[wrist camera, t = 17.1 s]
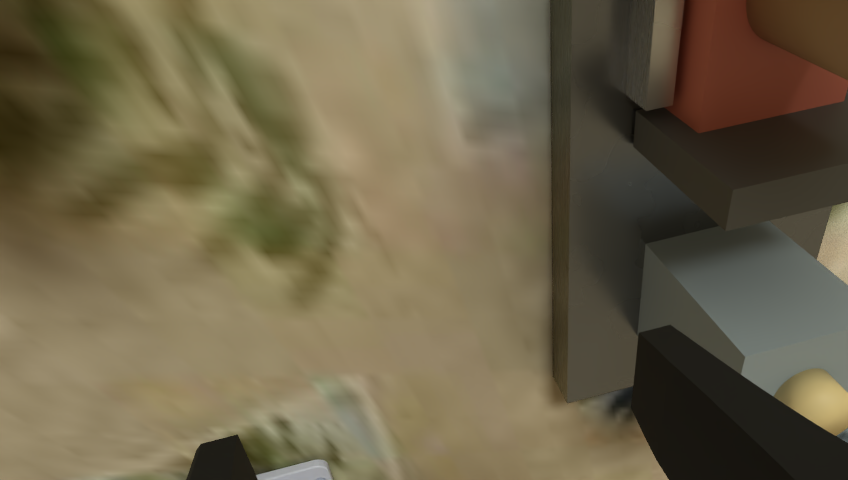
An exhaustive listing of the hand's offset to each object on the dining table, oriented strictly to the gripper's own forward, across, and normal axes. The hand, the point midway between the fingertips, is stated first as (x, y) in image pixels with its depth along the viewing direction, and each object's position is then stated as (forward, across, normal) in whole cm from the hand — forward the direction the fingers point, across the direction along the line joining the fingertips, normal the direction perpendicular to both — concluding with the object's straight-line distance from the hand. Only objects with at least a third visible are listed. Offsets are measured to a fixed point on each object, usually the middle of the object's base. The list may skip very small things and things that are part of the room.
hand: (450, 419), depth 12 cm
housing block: (+9, -11, +7) cm, 16 cm away
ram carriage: (+9, -11, -2) cm, 14 cm away
